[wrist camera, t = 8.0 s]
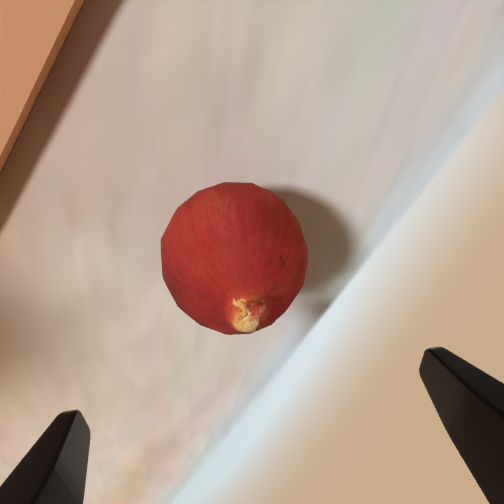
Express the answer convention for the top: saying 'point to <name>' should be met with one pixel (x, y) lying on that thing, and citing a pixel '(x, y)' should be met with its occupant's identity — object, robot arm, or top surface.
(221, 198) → the onion
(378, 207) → the top surface
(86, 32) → the top surface
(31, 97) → the letter tile
